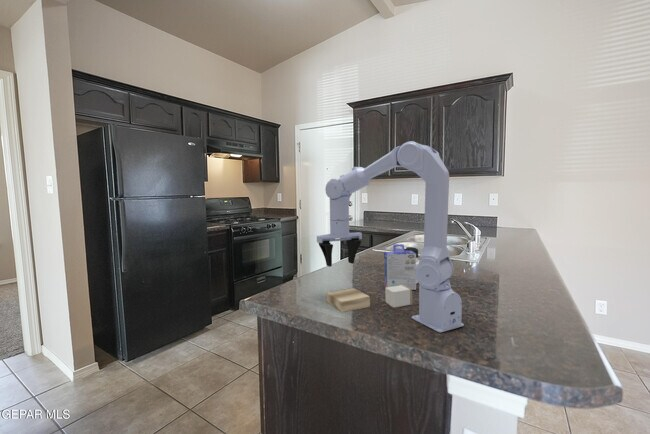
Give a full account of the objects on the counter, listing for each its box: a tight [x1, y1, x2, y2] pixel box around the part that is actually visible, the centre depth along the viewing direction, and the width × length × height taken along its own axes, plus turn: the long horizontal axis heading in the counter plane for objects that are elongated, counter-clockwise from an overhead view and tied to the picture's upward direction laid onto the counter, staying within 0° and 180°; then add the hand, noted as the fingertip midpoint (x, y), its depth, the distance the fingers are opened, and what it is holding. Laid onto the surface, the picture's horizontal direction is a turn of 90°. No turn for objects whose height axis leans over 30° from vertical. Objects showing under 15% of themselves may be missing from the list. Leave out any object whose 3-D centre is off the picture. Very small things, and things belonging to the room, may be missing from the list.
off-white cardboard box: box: [384, 285, 413, 308], centre depth 88 cm, size 5×5×6 cm
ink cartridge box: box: [383, 243, 417, 291], centre depth 102 cm, size 10×6×14 cm, turn 90°
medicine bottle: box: [404, 246, 420, 285], centre depth 110 cm, size 7×7×12 cm
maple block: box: [326, 287, 371, 313], centre depth 87 cm, size 9×9×3 cm
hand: (340, 264), depth 93 cm, fingers open, 7 cm apart
